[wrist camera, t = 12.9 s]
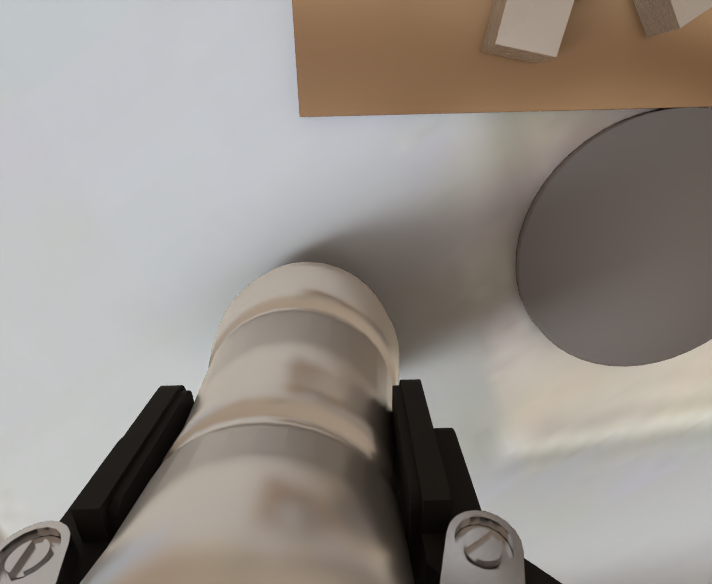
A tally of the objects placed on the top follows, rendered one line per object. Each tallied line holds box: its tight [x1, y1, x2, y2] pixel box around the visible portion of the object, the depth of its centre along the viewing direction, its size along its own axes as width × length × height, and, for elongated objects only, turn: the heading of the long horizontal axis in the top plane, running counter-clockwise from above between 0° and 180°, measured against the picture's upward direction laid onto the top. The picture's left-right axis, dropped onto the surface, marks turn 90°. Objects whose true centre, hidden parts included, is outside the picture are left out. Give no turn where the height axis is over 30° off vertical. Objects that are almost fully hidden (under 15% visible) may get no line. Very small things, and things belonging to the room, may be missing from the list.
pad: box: [516, 107, 712, 366], centre depth 16 cm, size 10×10×1 cm
